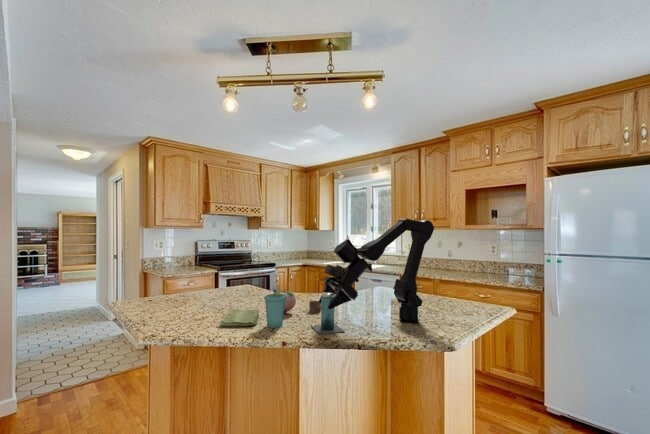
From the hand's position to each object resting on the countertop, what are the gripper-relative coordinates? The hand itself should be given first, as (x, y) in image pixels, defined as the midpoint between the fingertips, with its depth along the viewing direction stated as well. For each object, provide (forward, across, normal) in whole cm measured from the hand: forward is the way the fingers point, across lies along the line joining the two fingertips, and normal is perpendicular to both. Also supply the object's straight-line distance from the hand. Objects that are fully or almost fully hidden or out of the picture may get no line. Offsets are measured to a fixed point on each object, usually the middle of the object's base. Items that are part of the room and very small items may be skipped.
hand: (323, 305), depth 112 cm
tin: (+5, 0, +7) cm, 8 cm away
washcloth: (+24, -21, -12) cm, 34 cm away
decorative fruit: (+12, -26, +1) cm, 29 cm away
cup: (+17, -10, -5) cm, 20 cm away
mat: (+5, 0, +7) cm, 9 cm away
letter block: (+2, -26, +10) cm, 28 cm away
